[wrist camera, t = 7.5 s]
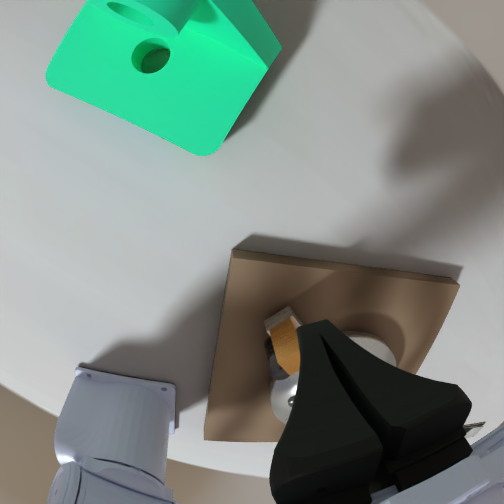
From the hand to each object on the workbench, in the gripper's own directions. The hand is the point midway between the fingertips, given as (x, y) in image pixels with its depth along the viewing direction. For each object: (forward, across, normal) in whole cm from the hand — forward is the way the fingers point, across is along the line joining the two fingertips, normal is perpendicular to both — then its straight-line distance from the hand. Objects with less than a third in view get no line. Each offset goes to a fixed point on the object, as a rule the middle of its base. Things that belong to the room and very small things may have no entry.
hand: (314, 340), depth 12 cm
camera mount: (+10, +5, -14) cm, 18 cm away
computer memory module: (+10, -30, +44) cm, 54 cm away
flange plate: (+8, -2, +10) cm, 13 cm away
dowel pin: (+8, +2, +6) cm, 10 cm away
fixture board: (+9, -3, +12) cm, 15 cm away
